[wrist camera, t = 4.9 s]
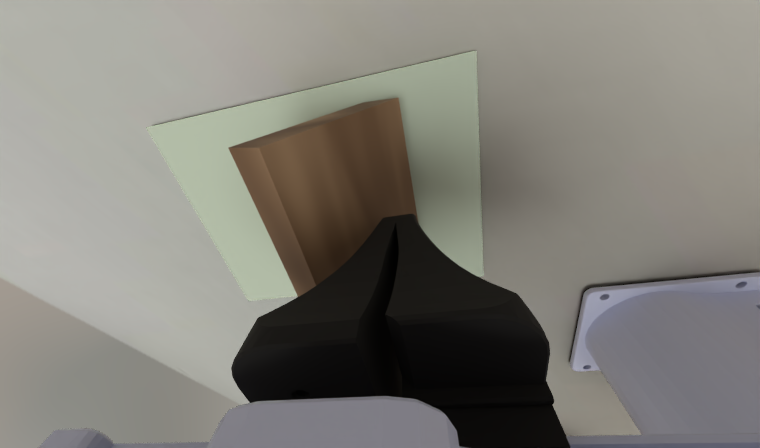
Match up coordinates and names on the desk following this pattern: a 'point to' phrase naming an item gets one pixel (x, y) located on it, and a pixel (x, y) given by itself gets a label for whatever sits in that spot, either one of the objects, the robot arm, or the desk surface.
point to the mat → (250, 121)
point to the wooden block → (328, 185)
